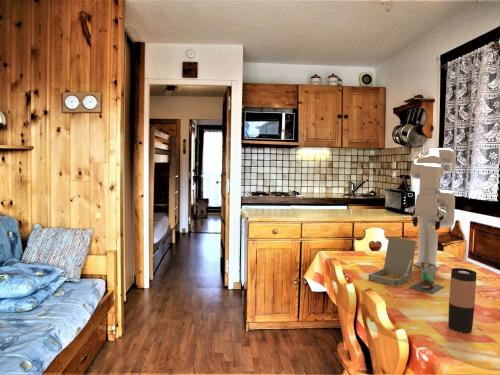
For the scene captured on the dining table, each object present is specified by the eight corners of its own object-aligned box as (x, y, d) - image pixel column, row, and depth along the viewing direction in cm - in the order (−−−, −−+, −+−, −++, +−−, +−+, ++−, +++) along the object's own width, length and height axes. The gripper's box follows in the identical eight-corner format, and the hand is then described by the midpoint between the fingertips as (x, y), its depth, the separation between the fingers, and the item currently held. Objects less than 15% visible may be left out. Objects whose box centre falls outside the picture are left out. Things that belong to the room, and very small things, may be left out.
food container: (438, 292, 170) (439, 269, 169) (422, 290, 172) (423, 267, 171) (434, 283, 182) (435, 262, 181) (419, 282, 183) (421, 261, 183)
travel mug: (442, 324, 137) (446, 267, 136) (463, 323, 138) (467, 267, 136) (456, 333, 129) (460, 274, 128) (477, 333, 130) (482, 274, 129)
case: (387, 271, 202) (389, 236, 201) (414, 277, 193) (416, 240, 192) (368, 279, 187) (370, 242, 186) (396, 286, 178) (398, 246, 176)
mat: (420, 281, 185) (420, 281, 185) (443, 287, 178) (443, 286, 178) (409, 288, 175) (409, 287, 175) (432, 294, 168) (432, 293, 168)
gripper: (450, 192, 179) (448, 229, 181) (412, 189, 190) (410, 224, 192) (445, 194, 173) (443, 232, 175) (406, 190, 185) (404, 226, 187)
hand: (425, 227), depth 184 cm, fingers open, 9 cm apart
